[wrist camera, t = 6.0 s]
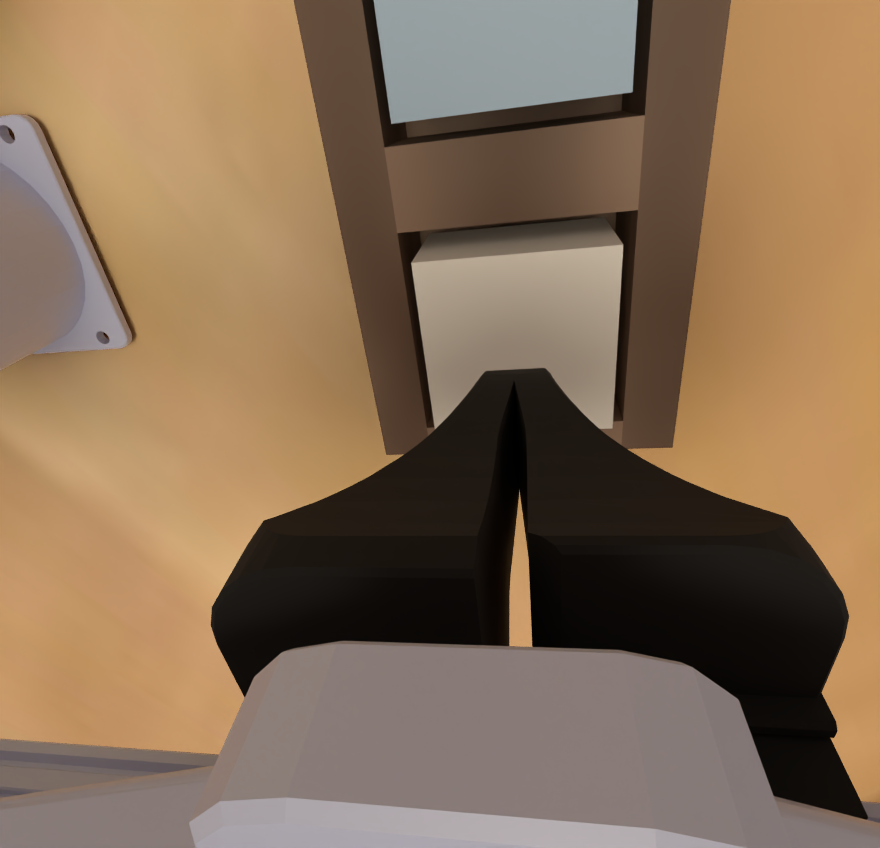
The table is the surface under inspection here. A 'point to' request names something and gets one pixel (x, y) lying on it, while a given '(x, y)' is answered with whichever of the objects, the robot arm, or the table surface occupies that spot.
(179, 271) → the table surface
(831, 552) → the table surface
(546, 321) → the ivory key
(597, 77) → the blue key
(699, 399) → the table surface
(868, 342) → the table surface
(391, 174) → the brown wooden frame
